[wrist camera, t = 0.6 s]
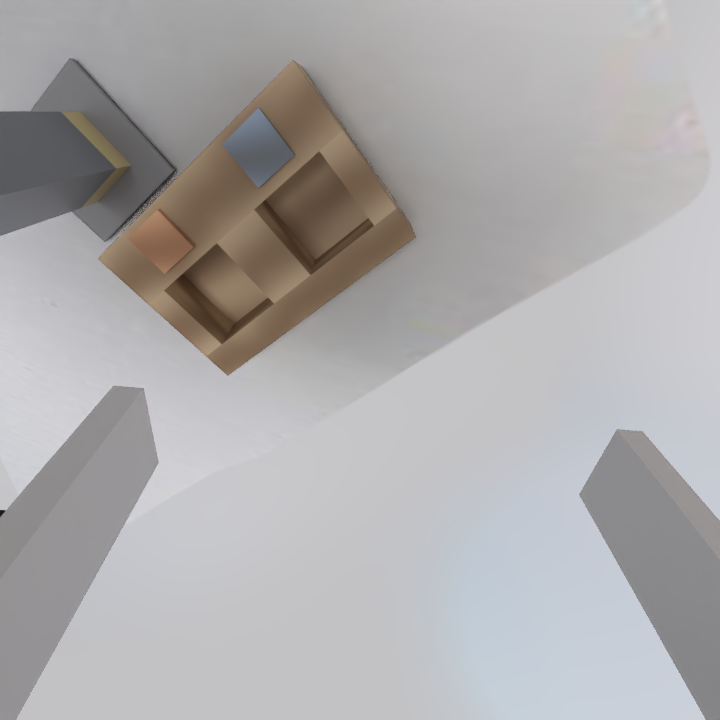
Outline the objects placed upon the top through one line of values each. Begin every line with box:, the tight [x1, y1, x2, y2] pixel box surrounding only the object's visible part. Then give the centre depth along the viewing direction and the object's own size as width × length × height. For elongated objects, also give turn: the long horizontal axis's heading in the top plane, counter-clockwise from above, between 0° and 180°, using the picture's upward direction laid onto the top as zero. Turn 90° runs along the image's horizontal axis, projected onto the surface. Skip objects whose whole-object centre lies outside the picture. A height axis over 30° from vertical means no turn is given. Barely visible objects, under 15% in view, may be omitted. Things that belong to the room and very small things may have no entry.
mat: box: [30, 58, 175, 242], centre depth 29 cm, size 8×8×1 cm
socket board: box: [98, 60, 416, 375], centre depth 29 cm, size 12×18×4 cm, turn 128°
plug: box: [0, 112, 131, 236], centre depth 23 cm, size 4×4×12 cm
